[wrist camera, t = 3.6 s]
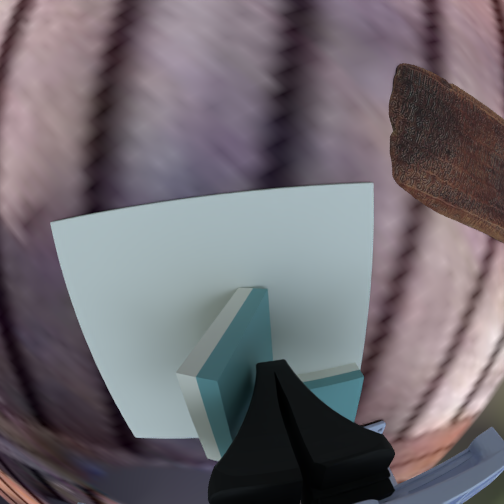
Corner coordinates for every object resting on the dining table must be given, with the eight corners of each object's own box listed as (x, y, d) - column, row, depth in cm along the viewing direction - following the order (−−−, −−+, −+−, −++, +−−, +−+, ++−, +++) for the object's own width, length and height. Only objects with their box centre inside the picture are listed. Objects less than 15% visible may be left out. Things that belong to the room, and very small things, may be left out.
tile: (273, 374, 17) (239, 465, 11) (249, 371, 18) (207, 458, 11) (267, 288, 15) (217, 380, 9) (238, 287, 16) (175, 372, 9)
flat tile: (346, 415, 20) (352, 428, 19) (261, 432, 20) (264, 447, 18) (355, 362, 18) (363, 376, 17) (255, 381, 18) (258, 398, 16)
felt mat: (350, 410, 21) (351, 413, 20) (136, 433, 19) (135, 437, 19) (370, 182, 15) (373, 182, 15) (53, 221, 14) (50, 222, 13)
